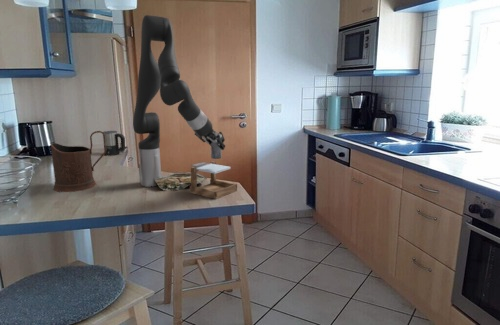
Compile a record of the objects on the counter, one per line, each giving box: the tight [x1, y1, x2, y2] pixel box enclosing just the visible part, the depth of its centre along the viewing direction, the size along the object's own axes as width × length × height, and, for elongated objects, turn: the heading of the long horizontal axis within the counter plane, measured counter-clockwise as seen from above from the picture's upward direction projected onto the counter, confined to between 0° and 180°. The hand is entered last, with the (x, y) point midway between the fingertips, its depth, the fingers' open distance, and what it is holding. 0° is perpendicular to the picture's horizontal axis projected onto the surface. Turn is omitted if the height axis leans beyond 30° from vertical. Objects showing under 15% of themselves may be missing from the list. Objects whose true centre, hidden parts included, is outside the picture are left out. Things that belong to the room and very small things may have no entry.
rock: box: [154, 172, 208, 192], centre depth 173 cm, size 23×7×15 cm
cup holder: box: [50, 130, 106, 193], centre depth 172 cm, size 18×24×25 cm
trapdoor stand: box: [189, 160, 238, 200], centre depth 163 cm, size 15×14×12 cm
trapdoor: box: [190, 161, 232, 175], centre depth 163 cm, size 15×10×2 cm
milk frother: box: [102, 130, 128, 156], centre depth 245 cm, size 14×16×15 cm
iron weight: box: [210, 136, 223, 160], centre depth 158 cm, size 4×4×10 cm
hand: (219, 147), depth 160 cm, fingers closed on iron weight, 4 cm apart
